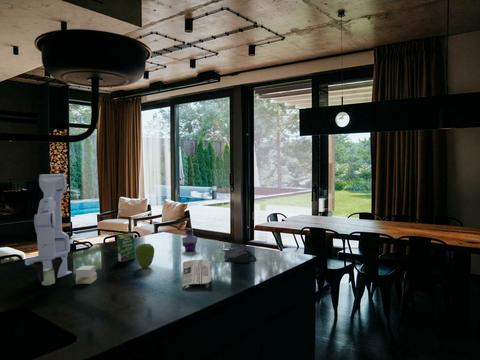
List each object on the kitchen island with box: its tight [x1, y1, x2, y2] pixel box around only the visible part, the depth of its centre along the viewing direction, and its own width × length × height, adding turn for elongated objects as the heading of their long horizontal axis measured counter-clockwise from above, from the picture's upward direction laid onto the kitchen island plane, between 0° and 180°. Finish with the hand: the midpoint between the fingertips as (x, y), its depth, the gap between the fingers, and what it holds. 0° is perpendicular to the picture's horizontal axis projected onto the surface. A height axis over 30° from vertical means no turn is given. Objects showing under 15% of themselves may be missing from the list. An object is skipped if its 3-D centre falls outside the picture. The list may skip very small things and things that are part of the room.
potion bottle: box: [181, 227, 198, 253], centre depth 196 cm, size 9×9×12 cm
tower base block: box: [75, 271, 98, 285], centre depth 149 cm, size 6×6×3 cm
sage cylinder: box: [41, 269, 56, 286], centre depth 138 cm, size 4×4×5 cm
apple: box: [135, 243, 155, 269], centre depth 166 cm, size 9×8×12 cm
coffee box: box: [116, 232, 136, 263], centre depth 180 cm, size 8×3×13 cm, turn 137°
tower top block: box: [75, 265, 96, 278], centre depth 149 cm, size 6×6×3 cm
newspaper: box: [181, 259, 212, 290], centre depth 154 cm, size 35×12×4 cm, turn 8°
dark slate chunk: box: [223, 245, 257, 264], centre depth 182 cm, size 15×22×5 cm
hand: (48, 279), depth 138 cm, fingers closed on sage cylinder, 4 cm apart
